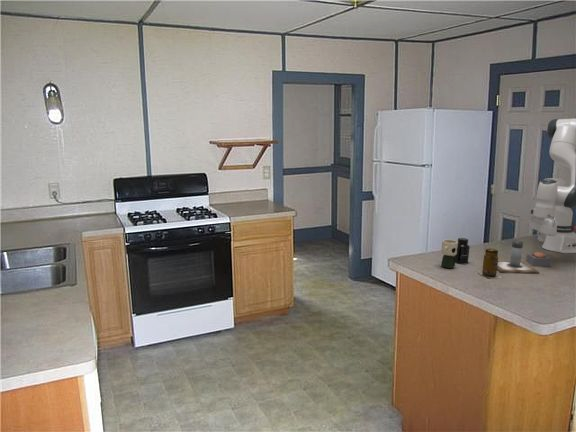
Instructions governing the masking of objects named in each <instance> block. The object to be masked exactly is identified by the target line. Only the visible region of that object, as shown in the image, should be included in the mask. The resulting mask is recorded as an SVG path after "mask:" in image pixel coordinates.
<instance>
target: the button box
mask: <svg viewBox="0 0 576 432" xmlns="http://www.w3.org/2000/svg"><path fill="white" fill-rule="evenodd" d="M525 263H527V264H529V265H530V266H532V267H544V268H546V267H549V268H550V267H551V266H552V258H551V257H549V256H548V255H546V254H544V258H536V257H534V253H527V254H526V261H525Z"/></svg>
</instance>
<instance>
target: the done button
mask: <svg viewBox="0 0 576 432" xmlns="http://www.w3.org/2000/svg"><path fill="white" fill-rule="evenodd" d="M533 254H534V257H536V258H544V255H545V253H544V252H542V251H541V252H540V251H534V253H533Z"/></svg>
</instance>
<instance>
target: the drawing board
mask: <svg viewBox="0 0 576 432" xmlns="http://www.w3.org/2000/svg"><path fill="white" fill-rule="evenodd" d="M497 272H498V273H500V274H528V275H529V274H531V275H532V274H533V275H534V274H535V275H540V270H538V269H536V268H535V267H534V266H532V265H531V264H529V263H528V262H526V261H521V262H520V267H513V266H510V261H505V260H498V265H497Z"/></svg>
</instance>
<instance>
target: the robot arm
mask: <svg viewBox="0 0 576 432" xmlns="http://www.w3.org/2000/svg"><path fill="white" fill-rule="evenodd" d="M546 134H547V135H546V136H547V137H548V138H550V139H551V142H550V146H549V156H550V158H551V159H552V161H554V162H556V164H555V165H556V169H558V171H560V172H561V173H563V176H564V178H558V177H549V178H544V179H542V180H540V181H539V183H538V186H537V190H536V197H535V199H536V202H535V206H534V208H530V209H529V213H530V215H529V223H528V225H529V227H530V228H531V229H533V230H535V231H537V232H536V234H537V240H538V241H539V242H543V244H542V245H541V248H542V249H544V250H547V251H551V252H558V253H560V254H561V253H562V254H576V232H575V231H576V225H575V226H574V225H573V224H572V222H573V215H574V212H573V210H572V209H574V208H576V118H560V119H559V118H554V119H551V120H549V122H548V124H547V125H546Z"/></svg>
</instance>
